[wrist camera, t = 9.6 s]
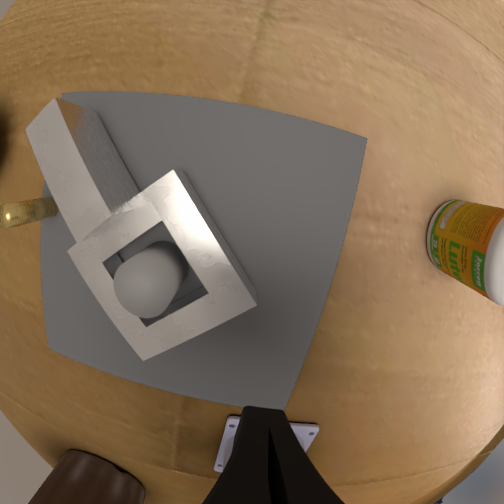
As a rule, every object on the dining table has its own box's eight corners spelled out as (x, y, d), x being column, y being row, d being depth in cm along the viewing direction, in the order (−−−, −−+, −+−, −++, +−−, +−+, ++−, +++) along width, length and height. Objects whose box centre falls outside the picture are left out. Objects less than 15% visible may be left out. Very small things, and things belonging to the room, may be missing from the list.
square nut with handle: (256, 291, 17) (257, 328, 12) (152, 344, 18) (129, 385, 13) (132, 84, 14) (97, 58, 9) (44, 162, 15) (-2, 163, 10)
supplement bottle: (412, 231, 17) (516, 276, 8) (456, 184, 16) (560, 199, 7) (442, 285, 18) (527, 344, 9) (482, 239, 17) (571, 275, 8)
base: (282, 404, 20) (287, 450, 16) (55, 343, 19) (24, 373, 15) (361, 140, 16) (399, 128, 11) (70, 96, 15) (27, 80, 10)
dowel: (58, 218, 16) (11, 231, 11) (44, 215, 16) (-3, 227, 11) (59, 197, 15) (11, 206, 11) (45, 195, 15) (-2, 203, 11)
